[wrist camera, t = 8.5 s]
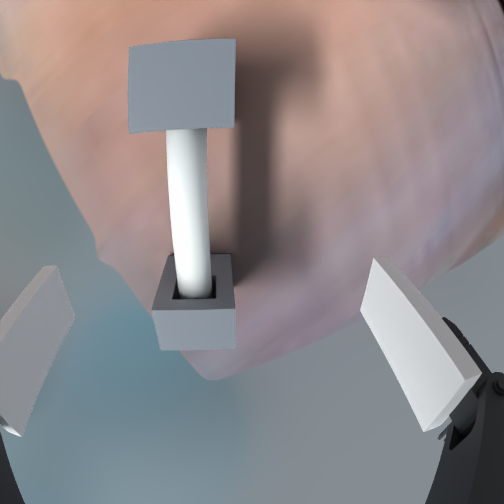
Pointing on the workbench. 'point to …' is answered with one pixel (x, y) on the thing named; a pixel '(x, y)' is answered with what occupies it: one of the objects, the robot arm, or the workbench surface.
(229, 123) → the sleeve
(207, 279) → the tube
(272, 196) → the workbench surface
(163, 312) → the socket block
